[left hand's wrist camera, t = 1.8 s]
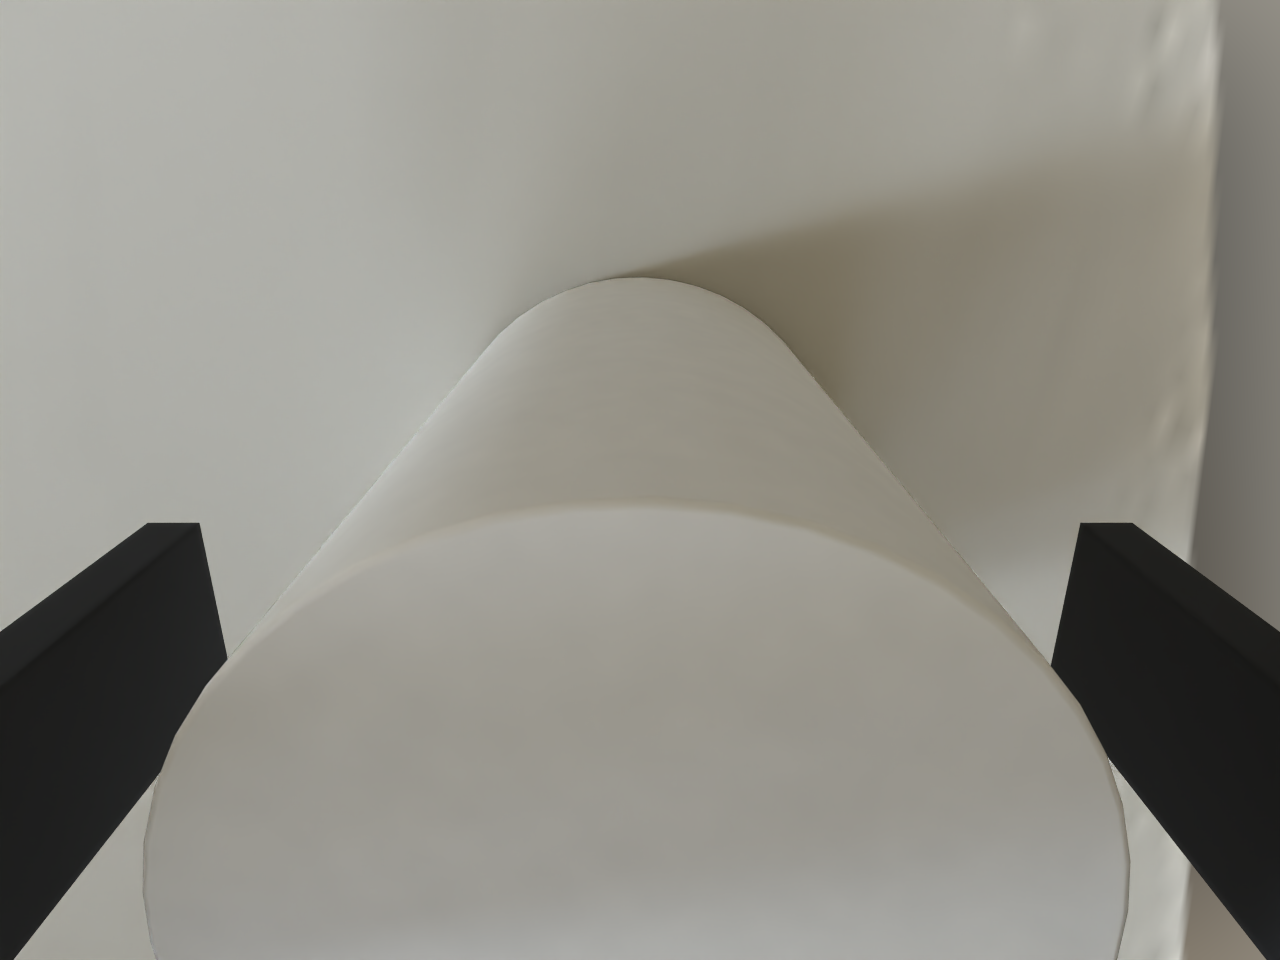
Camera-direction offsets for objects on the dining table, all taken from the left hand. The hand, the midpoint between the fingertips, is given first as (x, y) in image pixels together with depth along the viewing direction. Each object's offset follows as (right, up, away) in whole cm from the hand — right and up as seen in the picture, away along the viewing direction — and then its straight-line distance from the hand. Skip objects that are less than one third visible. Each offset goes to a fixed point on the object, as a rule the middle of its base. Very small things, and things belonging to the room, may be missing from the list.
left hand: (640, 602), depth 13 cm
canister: (0, +2, +6) cm, 6 cm away
